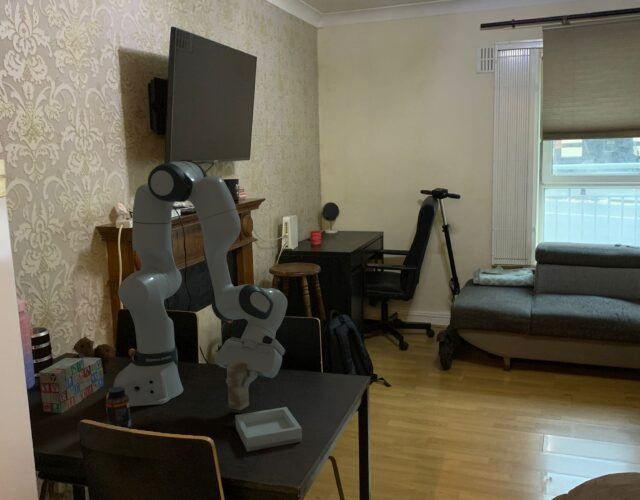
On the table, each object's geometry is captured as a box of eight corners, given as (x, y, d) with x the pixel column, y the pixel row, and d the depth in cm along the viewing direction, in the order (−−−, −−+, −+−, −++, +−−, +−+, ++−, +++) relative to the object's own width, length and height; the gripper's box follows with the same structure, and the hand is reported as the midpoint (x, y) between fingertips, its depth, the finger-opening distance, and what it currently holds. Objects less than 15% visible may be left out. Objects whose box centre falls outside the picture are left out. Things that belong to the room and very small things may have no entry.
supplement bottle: (136, 427, 165) (133, 387, 163) (118, 436, 160) (114, 395, 158) (121, 422, 168) (118, 383, 166) (103, 431, 163) (99, 390, 161)
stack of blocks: (87, 384, 197) (83, 347, 195) (104, 385, 196) (101, 348, 194) (42, 412, 177) (38, 371, 175) (61, 414, 175) (57, 372, 173)
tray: (247, 451, 150) (246, 437, 149) (235, 427, 163) (235, 415, 162) (302, 441, 154) (301, 428, 154) (286, 419, 167) (286, 406, 167)
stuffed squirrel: (67, 375, 206) (63, 337, 204) (109, 365, 214) (106, 329, 212) (76, 383, 198) (73, 344, 196) (120, 373, 207) (116, 335, 205)
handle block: (228, 407, 171) (226, 366, 169) (237, 402, 175) (235, 361, 173) (240, 410, 169) (238, 368, 167) (249, 404, 173) (247, 364, 171)
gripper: (223, 331, 180) (202, 373, 174) (280, 341, 170) (260, 386, 163) (233, 341, 185) (213, 383, 178) (290, 351, 174) (271, 396, 168)
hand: (236, 385), depth 171 cm, fingers closed on handle block, 4 cm apart
